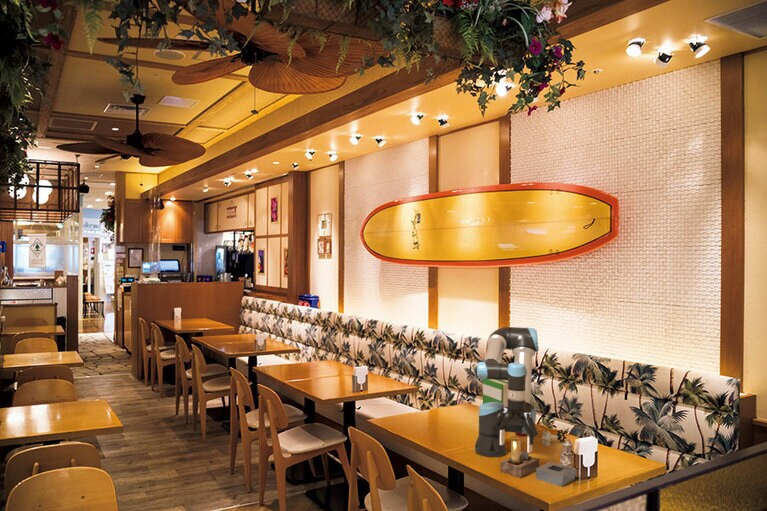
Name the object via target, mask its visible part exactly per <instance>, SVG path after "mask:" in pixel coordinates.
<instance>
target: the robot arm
mask: <svg viewBox="0 0 767 511" xmlns="http://www.w3.org/2000/svg"><path fill="white" fill-rule="evenodd" d="M538 339H539V338H538V332H537V329H536V328H532V327H519V326H518V327H512V326H502V327H499V328H497V329H496V330H494V331H493V332H492V333H490V335H489V336H488V338H487V342H486V343H487V344H486V345H487V349H486V353H485V356H484V359H483V361H479V362H478V363H477V364H476V376H477V378H478V379H482V380H483V379H494V380H503V381H507V382H508V398H509V399H508V407H504V404H503V403H501V402H489V403H484V404H483V403H482V404H480V406H479V407H478V408H479V409H478V436H477V439H476V441H475V445H474V452H475V453H476V454H478V455H480V456H482V457H483V456H484V457H489V458H491V457H492V458H498V457H502V456H506V455H507V453H508V452H507V451H508V450H507V449H508V448H507V446H506V442H505V441H506V440H505V439H506V438H505V435H506V434H505V433H512V434H513V433H514V434H515V433H522V434H527V435H528V436H527V445H526V446H527V447H526V448H527V450H526V452H528V454H529V453H531V452H533V445H534V444H535V437H538V436H539V432H538V429H537V427H536V418H537V409H535V408H534V406H535V405H534V404H533V403H532V402H531V400H532V398H531V397H532V396H531V395H532V394H531V393H532V372H533V366H532V365H533V357H534V356H536V353H537V352H539V342H538V341H539V340H538ZM505 350H509V351H511V353H512V355H513V356H514V361H513V362H511V363H502V358H503V354H504V353H503V352H504V351H505Z"/></svg>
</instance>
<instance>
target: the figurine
mask: <svg viewBox="0 0 767 511" xmlns="http://www.w3.org/2000/svg"><path fill="white" fill-rule="evenodd" d="M562 446H563V449H562V450H561V451H560V455H559V463H558V464H561V465H565V466H568V467H572V468H573V453H575V452H574V451H573V443H572V442H571V439H566V440H565V442H563V445H562Z"/></svg>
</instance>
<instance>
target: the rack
mask: <svg viewBox="0 0 767 511" xmlns="http://www.w3.org/2000/svg"><path fill="white" fill-rule="evenodd" d="M538 467H540V458H539V457H538V458H537V457H534V456H530V455H529V453H528V452H527V450H526V451H525V450H523V451H520V465H518V466H517V465H514V464H511V456H510V457H508V458H506V459H504V460H501V461H500V470H499V472H500V471H501V472H500V473H502V472H504V473H503V474H505V473H507V474H506V475H508V474H510V475H509V476H512V475H513V476H512V477H515V476H516V477H515V478H518V477H519V478H518V479H522V478H524V477H526V476H528V475H529V474H532V473H534V472H536V468H538ZM521 477H522V478H521Z"/></svg>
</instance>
